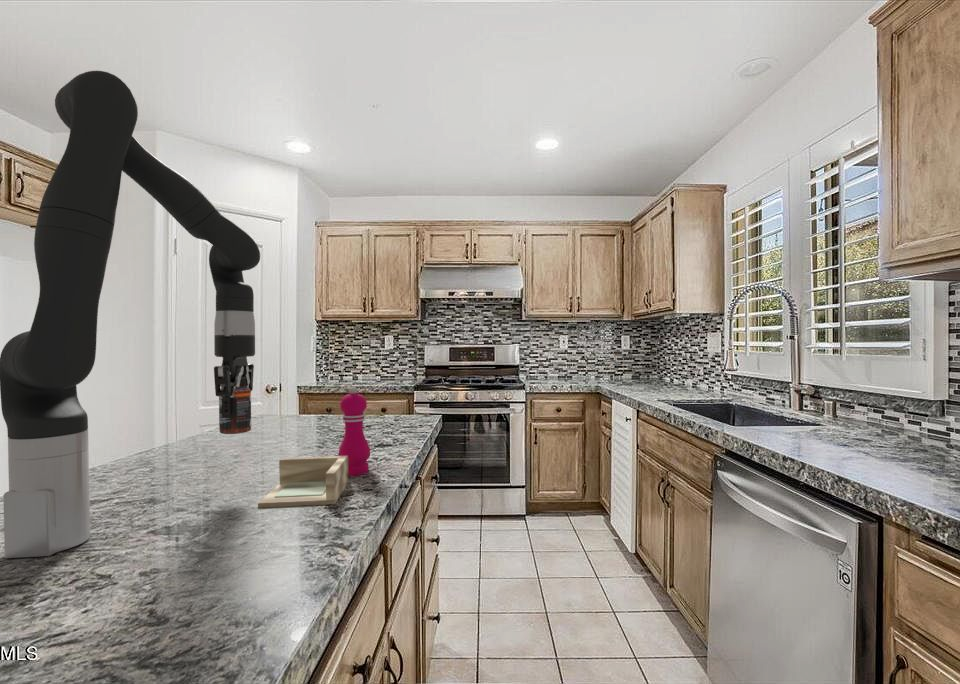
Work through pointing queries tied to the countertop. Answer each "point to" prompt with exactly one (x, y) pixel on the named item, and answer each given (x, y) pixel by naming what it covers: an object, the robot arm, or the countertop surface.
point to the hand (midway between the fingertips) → (235, 414)
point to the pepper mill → (354, 433)
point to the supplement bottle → (237, 412)
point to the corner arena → (308, 481)
